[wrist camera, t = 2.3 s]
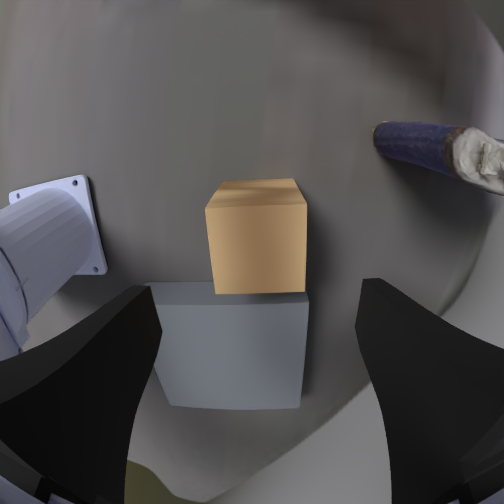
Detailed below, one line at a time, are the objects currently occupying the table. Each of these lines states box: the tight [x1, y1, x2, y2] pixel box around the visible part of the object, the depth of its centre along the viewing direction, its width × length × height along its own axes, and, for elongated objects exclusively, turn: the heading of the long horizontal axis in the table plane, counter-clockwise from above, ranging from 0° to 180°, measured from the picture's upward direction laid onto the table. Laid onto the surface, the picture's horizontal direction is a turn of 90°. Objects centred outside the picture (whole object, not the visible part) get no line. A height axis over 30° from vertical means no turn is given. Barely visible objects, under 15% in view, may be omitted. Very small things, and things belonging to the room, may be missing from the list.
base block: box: [144, 282, 309, 410], centre depth 22 cm, size 12×12×3 cm
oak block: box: [205, 179, 307, 294], centre depth 16 cm, size 4×4×6 cm
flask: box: [372, 121, 504, 196], centre depth 11 cm, size 9×3×11 cm, turn 93°
